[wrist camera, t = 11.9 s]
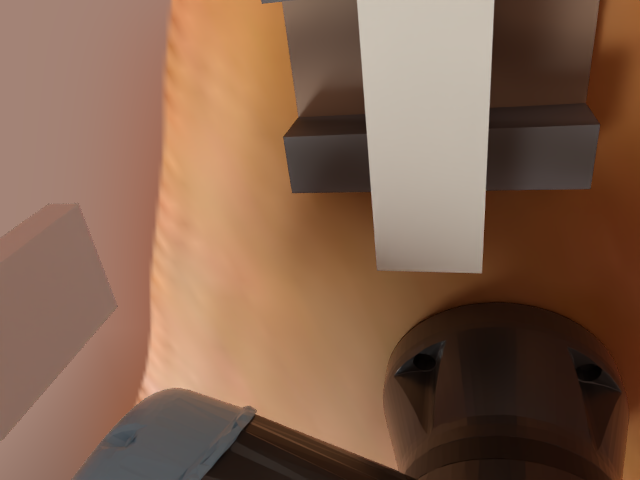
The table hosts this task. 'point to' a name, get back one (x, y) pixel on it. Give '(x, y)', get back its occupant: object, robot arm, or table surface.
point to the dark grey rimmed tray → (505, 96)
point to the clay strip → (427, 129)
